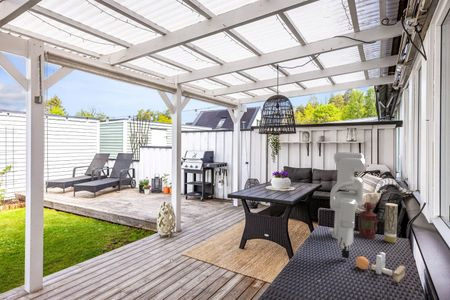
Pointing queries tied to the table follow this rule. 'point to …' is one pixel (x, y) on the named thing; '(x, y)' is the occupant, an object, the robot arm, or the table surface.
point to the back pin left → (383, 259)
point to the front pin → (382, 270)
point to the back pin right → (379, 264)
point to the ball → (362, 262)
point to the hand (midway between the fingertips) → (345, 257)
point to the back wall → (399, 274)
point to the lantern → (367, 221)
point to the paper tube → (390, 222)
